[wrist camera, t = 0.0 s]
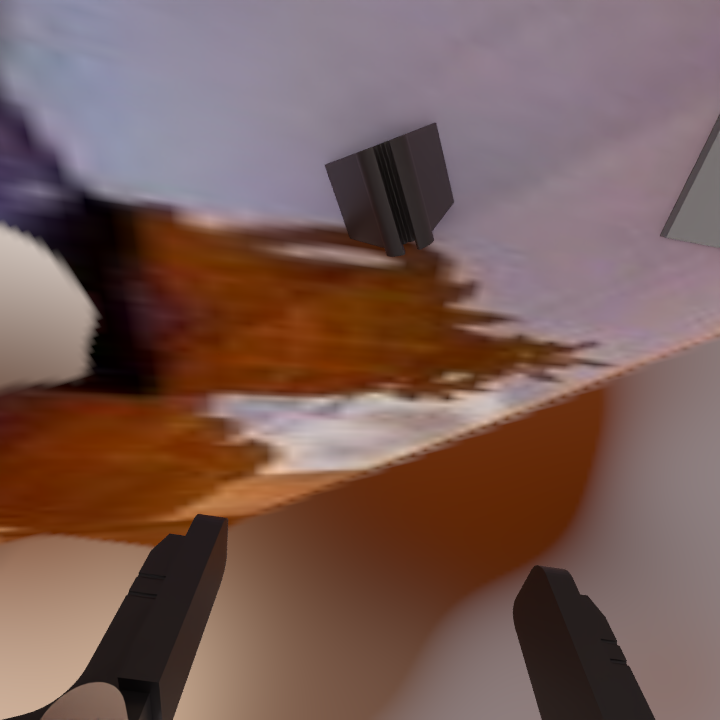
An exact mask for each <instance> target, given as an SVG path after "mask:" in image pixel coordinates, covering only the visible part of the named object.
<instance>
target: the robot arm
mask: <svg viewBox="0 0 720 720" xmlns="http://www.w3.org/2000/svg"><path fill="white" fill-rule="evenodd" d="M227 537H228V519H227V518H223V517H216V516H209V515H202V514H197V515H196V517H195V518H194V520H193V522H192V524H191V526H190V528H189V530H188V532H187V534H186V536H182V535H175V534H169V535H168V536H167V537H166V538H164V539H163V540H162V541H161V542H160V543H159V544H158V545H157V546H156V547H155V548H154V549H152V550H151V552H150V553H149V555H148V557H147V559H146V561H145V563H144V565H143V566H142V568H141V570H140V572H139V575H138V577H136V579H135V581H134V583H133V584H132V586H131V588H130V590H129V593H128V595H127V596H126V597H125V599H124V601H123V602H122V604H121V606H120V608H119V610H118V611H117V613H116V615H115V617H114V619H113V621H112V622H111V624H110V626H109V628H108V630H107V631H106V633H105V635H104V637H103V639H102V641H101V643H100V644H99V646H98V648H97V650H96V651H95V653H94V655H93V657H92V659H91V660H90V662H89V664H88V666H87V667H86V669H85V671H84V672H83V674H82V675H81V676H80V678H79V679H78V680H77V681H76V683H75V684H74V685H73V686H72V687H71V688H70V689H69V690H67V691H66V692H65V693H64V694H63V695H62V696H60V697H59V698H57V699H56V700H55V701H54V702H52V703H50V704H48V705H46V706H45V707H43V708H41V709H38V710H36V711H34V712H31V713H27V714H24V715H20V716H16V717H12V718H8V719H4V720H173V717H174V715H175V712H176V709H177V706H178V703H179V700H180V697H181V695H182V692H183V689H184V686H185V683H186V681H187V678H188V675H189V672H190V669H191V666H192V663H193V660H194V658H195V655H196V652H197V649H198V646H199V643H200V641H201V638H202V635H203V632H204V629H205V626H206V623H207V621H208V618H209V615H210V612H211V609H212V606H213V604H214V601H215V598H216V595H217V592H218V590H219V587H220V584H221V581H222V577H223V574H224V569H225V565H226V558H227ZM513 619H514V625H515V629H516V632H517V636H518V639H519V643H520V646H521V650H522V653H523V657H524V660H525V663H526V667H527V670H528V674H529V677H530V680H531V684H532V688H533V691H534V694H535V698H536V701H537V705H538V708H539V712H540V715H541V718H542V720H655V718H654V716H653V714H652V712H651V710H650V708H649V705H648V703H647V701H646V699H645V697H644V695H643V693H642V691H641V689H640V687H639V685H638V683H637V681H636V679H635V677H634V675H633V673H632V671H631V669H630V667H629V666H627V664H626V661H627V660H626V658H625V656H624V654H623V652H622V650H621V648H620V646H618V645H617V640H616V638H615V636H614V634H613V632H612V630H611V628H610V626H609V624H608V622H607V620H606V617H605V616H604V615H603V614H602V613H601V611H600V610H599V609H598V608H597V607H596V605H595V604H594V603H593V602H592V600H591V599H590V598H589V597H588V596H586V595H580V593H579V591H578V589H577V586H576V584H575V582H574V580H573V578H572V576H571V574H570V573H569V572H568V571H567V570H565V569H559V568H552V567H545V566H538V565H537V566H534V567H533V569H532V570H531V572H530V574H529V575H528V577H527V579H526V581H525V582H524V584H523V586H522V588H521V590H520V592H519V593H518V595H517V597H516V599H515V601H514V606H513Z"/></svg>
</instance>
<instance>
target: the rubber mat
mask: <svg viewBox="0 0 720 720" xmlns="http://www.w3.org/2000/svg"><path fill="white" fill-rule="evenodd" d="M660 236H663V237H666V238H671V239H676V240H681V241H686V242H691V243H697V244H702V245H707V246H712V247H717V248H720V116H719V118H718V120H717V122H716V124H715V126H714V128H713V130H712V132H711V134H710V136H709V138H708V140H707V142H706V144H705V146H704V148H703V150H702V152H701V154H700V156H699V158H698V160H697V162H696V164H695V166H694V168H693V170H692V172H691V174H690V176H689V178H688V181H687V183H686V185H685V187H684V189H683V191H682V193H681V195H680V197H679V199H678V201H677V203H676V205H675V207H674V209H673V211H672V213H671V215H670V217H669V219H668V221H667V223H666V225H665V227H664V229H663V231H662V233H661V235H660Z"/></svg>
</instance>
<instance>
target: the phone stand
mask: <svg viewBox="0 0 720 720" xmlns="http://www.w3.org/2000/svg"><path fill="white" fill-rule="evenodd" d="M325 167H326V170H327V173H328V176H329V179H330V182H331V185H332V188H333V190H334V193H335V196H336V199H337V202H338V205H339V208H340V211H341V214H342V216H343V219H344V222H345V225H346V228H347V231H348V234H349V237H350V238H351V239H354V240H358V241H362V242H365V243H369V244H372V245H376V246H380V247H383V248H385V251H386V254H387V256H390V257H395V256H401V255H404V254H405V250H404V247H403V244H406V243H407V242H412V241H415V242H416V245H417V249H419V250H420V249H422V248H424V247H426V246H428V245H430V244H431V243H432V242H433V241H434V238H433V234H432V230H433V229H434V228H435V226H436V225H437V224H438V223H439V221H440V220H441V219H442V217H443V216H444V215H445V213H446V212H447V211H448V209H449V208H450V207H451V206H452V204H453V203H454V200H453V196H452V191H451V187H450V183H449V178H448V174H447V169H446V165H445V161H444V156H443V152H442V147H441V143H440V139H439V134H438V130H437V126H436V123H433V124H431V125H428V126H426V127H423V128H420V129H418V130H415V131H412V132H410V133H407V134H405V135H402V136H399V137H397V138H394V139H392V140H389V141H386V142H384V143H381V144H379V145H376V146H373V147H371V148H368V149H366V150H363V151H360V152H358V153H355V154H352V155H350V156H347V157H345V158H342V159H339V160H337V161H334V162H332V163H329V164H326V165H325Z"/></svg>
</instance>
